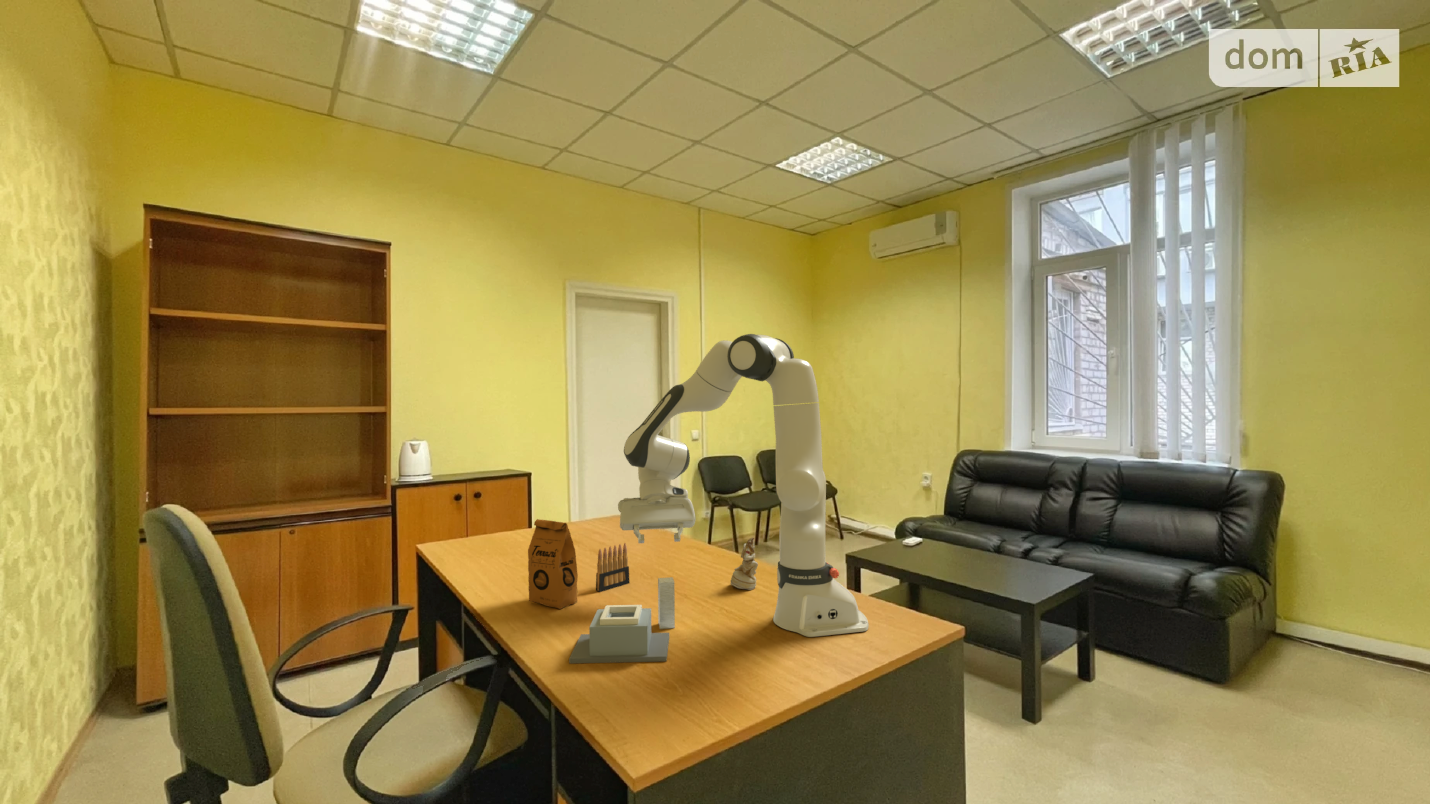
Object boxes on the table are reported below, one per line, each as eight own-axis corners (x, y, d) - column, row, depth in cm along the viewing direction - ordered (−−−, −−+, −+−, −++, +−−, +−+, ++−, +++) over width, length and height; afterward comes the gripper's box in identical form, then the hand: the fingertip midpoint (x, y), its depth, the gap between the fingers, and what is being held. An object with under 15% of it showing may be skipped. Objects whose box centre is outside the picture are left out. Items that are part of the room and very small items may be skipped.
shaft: (672, 622, 138) (672, 577, 138) (674, 628, 134) (674, 581, 134) (658, 623, 137) (658, 578, 137) (660, 629, 134) (659, 582, 134)
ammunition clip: (599, 592, 160) (599, 549, 160) (595, 590, 161) (595, 548, 161) (629, 583, 167) (629, 542, 167) (625, 582, 169) (625, 541, 169)
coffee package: (556, 613, 144) (555, 526, 144) (523, 604, 151) (522, 521, 151) (584, 601, 153) (583, 519, 153) (551, 593, 159) (551, 515, 159)
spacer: (641, 610, 127) (641, 604, 127) (638, 624, 119) (638, 618, 119) (606, 610, 127) (605, 605, 127) (599, 625, 119) (599, 619, 119)
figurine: (758, 595, 162) (773, 545, 162) (736, 592, 159) (751, 541, 159) (746, 584, 168) (761, 536, 168) (725, 581, 165) (740, 532, 165)
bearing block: (669, 636, 129) (669, 606, 129) (666, 661, 117) (666, 627, 117) (581, 638, 129) (580, 607, 129) (569, 663, 117) (568, 629, 117)
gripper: (618, 491, 153) (619, 536, 143) (692, 489, 157) (699, 533, 148) (617, 505, 157) (618, 549, 148) (690, 502, 162) (696, 545, 152)
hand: (659, 541), depth 148 cm, fingers open, 8 cm apart
